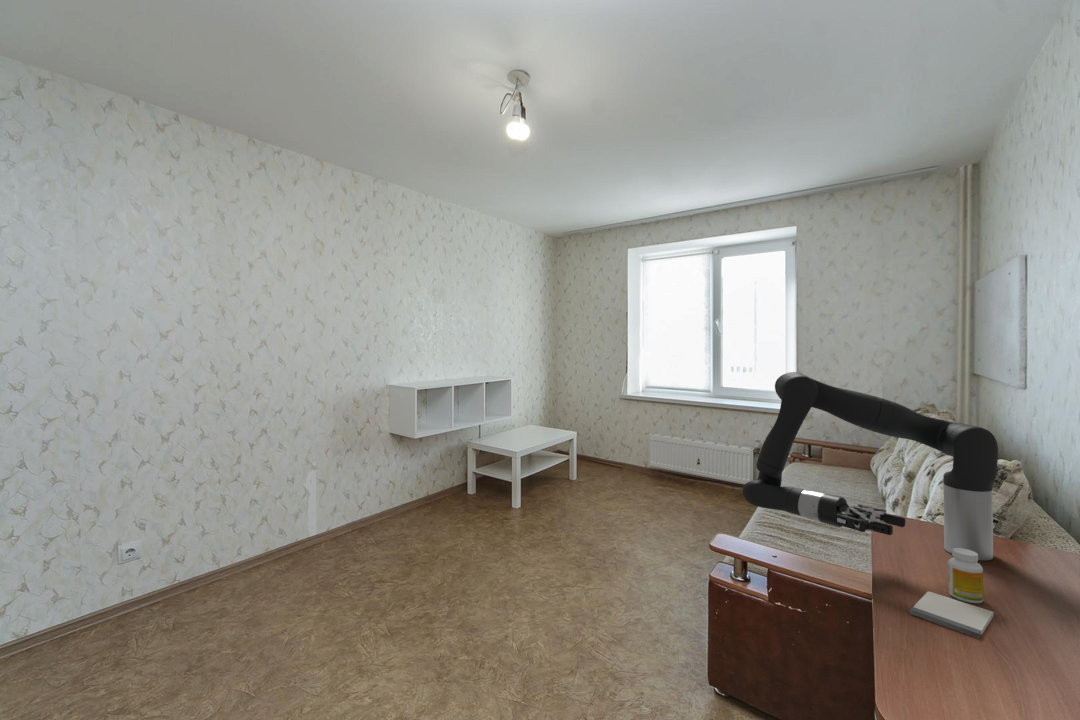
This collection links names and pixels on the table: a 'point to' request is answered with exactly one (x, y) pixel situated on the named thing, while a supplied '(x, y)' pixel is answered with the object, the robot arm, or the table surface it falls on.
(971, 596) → the supplement bottle
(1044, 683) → the table surface
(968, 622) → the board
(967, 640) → the table surface
